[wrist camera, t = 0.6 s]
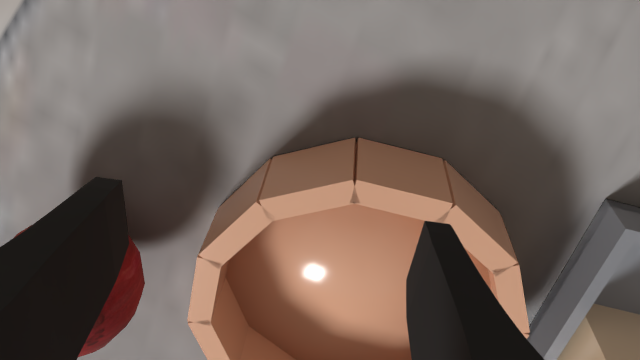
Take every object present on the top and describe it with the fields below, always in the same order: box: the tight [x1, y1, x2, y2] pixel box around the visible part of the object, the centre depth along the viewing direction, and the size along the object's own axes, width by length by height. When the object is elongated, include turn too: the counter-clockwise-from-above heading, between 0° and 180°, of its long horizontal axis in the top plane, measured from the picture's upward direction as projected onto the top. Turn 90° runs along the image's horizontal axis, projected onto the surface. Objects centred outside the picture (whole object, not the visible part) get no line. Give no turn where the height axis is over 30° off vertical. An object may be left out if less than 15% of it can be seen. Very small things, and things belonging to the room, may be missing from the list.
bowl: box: [187, 138, 530, 360], centre depth 25 cm, size 14×14×4 cm
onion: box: [14, 225, 145, 357], centre depth 23 cm, size 6×6×8 cm
